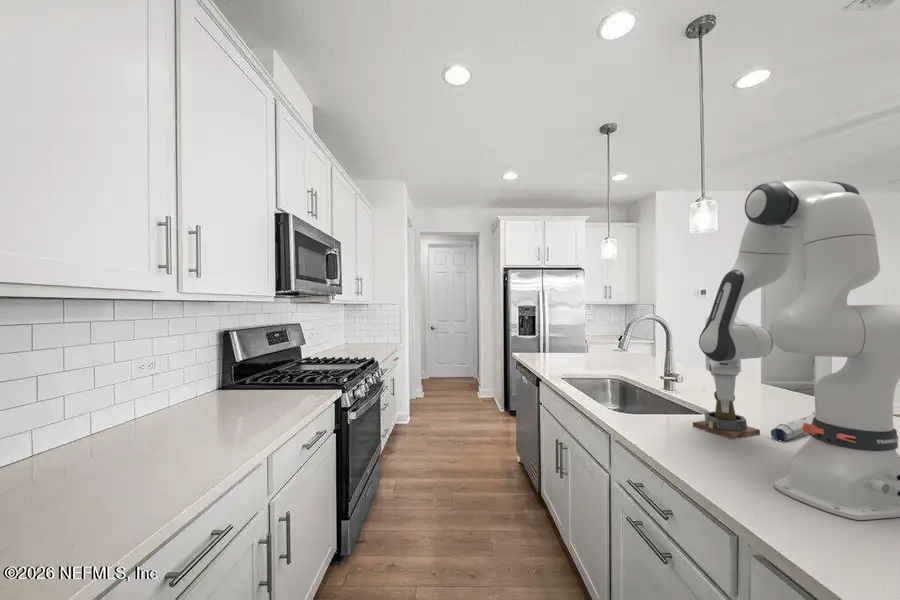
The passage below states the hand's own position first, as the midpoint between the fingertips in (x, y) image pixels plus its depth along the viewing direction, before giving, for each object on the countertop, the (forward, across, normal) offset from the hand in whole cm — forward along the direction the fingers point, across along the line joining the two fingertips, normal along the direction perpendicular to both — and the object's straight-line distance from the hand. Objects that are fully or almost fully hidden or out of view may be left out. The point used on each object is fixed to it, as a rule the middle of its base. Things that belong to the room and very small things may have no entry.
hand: (724, 409), depth 115 cm
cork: (+5, 0, 0) cm, 5 cm away
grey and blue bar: (+7, -8, +19) cm, 22 cm away
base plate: (+7, 0, 0) cm, 7 cm away
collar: (+5, 0, 0) cm, 5 cm away
